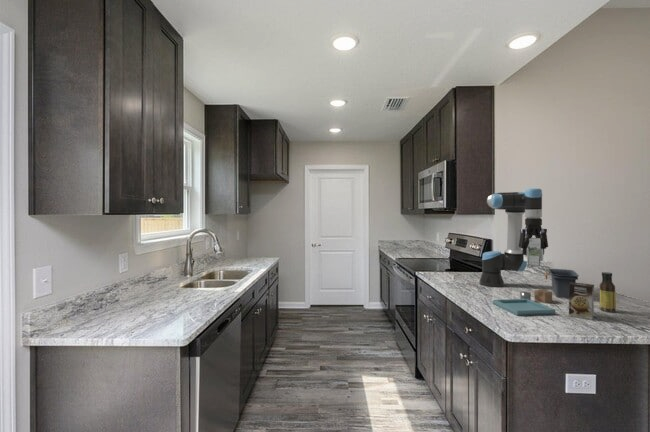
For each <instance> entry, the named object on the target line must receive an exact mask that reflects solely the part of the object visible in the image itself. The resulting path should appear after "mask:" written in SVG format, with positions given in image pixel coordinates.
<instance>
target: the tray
mask: <svg viewBox="0 0 650 432" xmlns="http://www.w3.org/2000/svg"><path fill="white" fill-rule="evenodd" d="M492 305H494V306H496V307H498V308H501V309H502V310H504V311H506V312H509V313H511V314H513V315H515V316H516V317H520V316H521V317H524V316H551V315H552V316H553V315H554V316H555V315H556V309H555V308H552V307H550V306H547V305H544V304H542V303H540V302H538V301H535V300H529V299H520V298H509V299H508V298H507V299H505V298H504V299H501V298H500V299H492Z"/></svg>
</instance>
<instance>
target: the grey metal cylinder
mask: <svg viewBox="0 0 650 432" xmlns="http://www.w3.org/2000/svg"><path fill="white" fill-rule="evenodd" d="M531 293H532V292H529V291H520V293H519V294H520V297H519V299H529V300H531V299H532V298H531V297H532V296H531V295H532V294H531Z"/></svg>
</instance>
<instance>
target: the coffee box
mask: <svg viewBox="0 0 650 432" xmlns="http://www.w3.org/2000/svg"><path fill="white" fill-rule="evenodd" d="M594 295H595V284H590V283H582V282H577V281H576V282H571V283H570V284H569V298H568V316H569V317H573V318H578V319H583V320H589V321H592V320H593V319H594V308H595V307H594V303H595V302H594V299H595V297H594Z"/></svg>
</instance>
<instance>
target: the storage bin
mask: <svg viewBox="0 0 650 432" xmlns="http://www.w3.org/2000/svg"><path fill="white" fill-rule="evenodd" d="M548 276H550V277H551V288H552V289H551V290H552V293H553V294H554V296H556V298H562V299H569V284H570V283H571V282H576V283H577V281H578V280H579V277H580V275H579V274H578V273H577V272H576V271H575V270H571V269H563V268H548V272H546V273H545V276H544V277H545V280H547V279H548Z"/></svg>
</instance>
